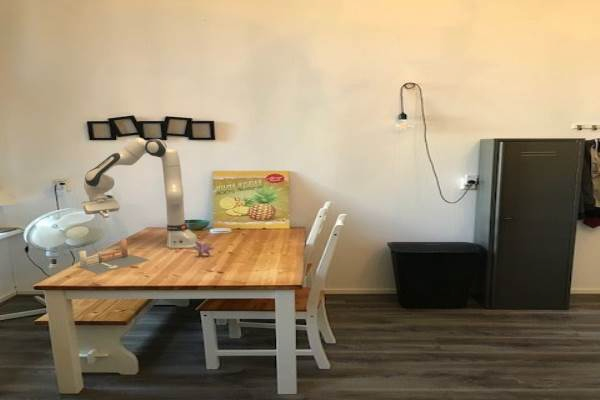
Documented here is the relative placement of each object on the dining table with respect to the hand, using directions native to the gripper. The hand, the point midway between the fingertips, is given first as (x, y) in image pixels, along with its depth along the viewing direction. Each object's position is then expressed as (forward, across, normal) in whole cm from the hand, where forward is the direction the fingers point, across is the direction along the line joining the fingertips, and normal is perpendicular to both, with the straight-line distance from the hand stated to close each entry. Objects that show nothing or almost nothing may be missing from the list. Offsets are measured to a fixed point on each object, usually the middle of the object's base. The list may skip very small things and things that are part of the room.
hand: (106, 217), depth 234 cm
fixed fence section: (+30, -18, +1) cm, 35 cm away
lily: (+55, +30, -24) cm, 67 cm away
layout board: (+36, -9, -4) cm, 37 cm away
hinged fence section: (+29, -5, +1) cm, 30 cm away
